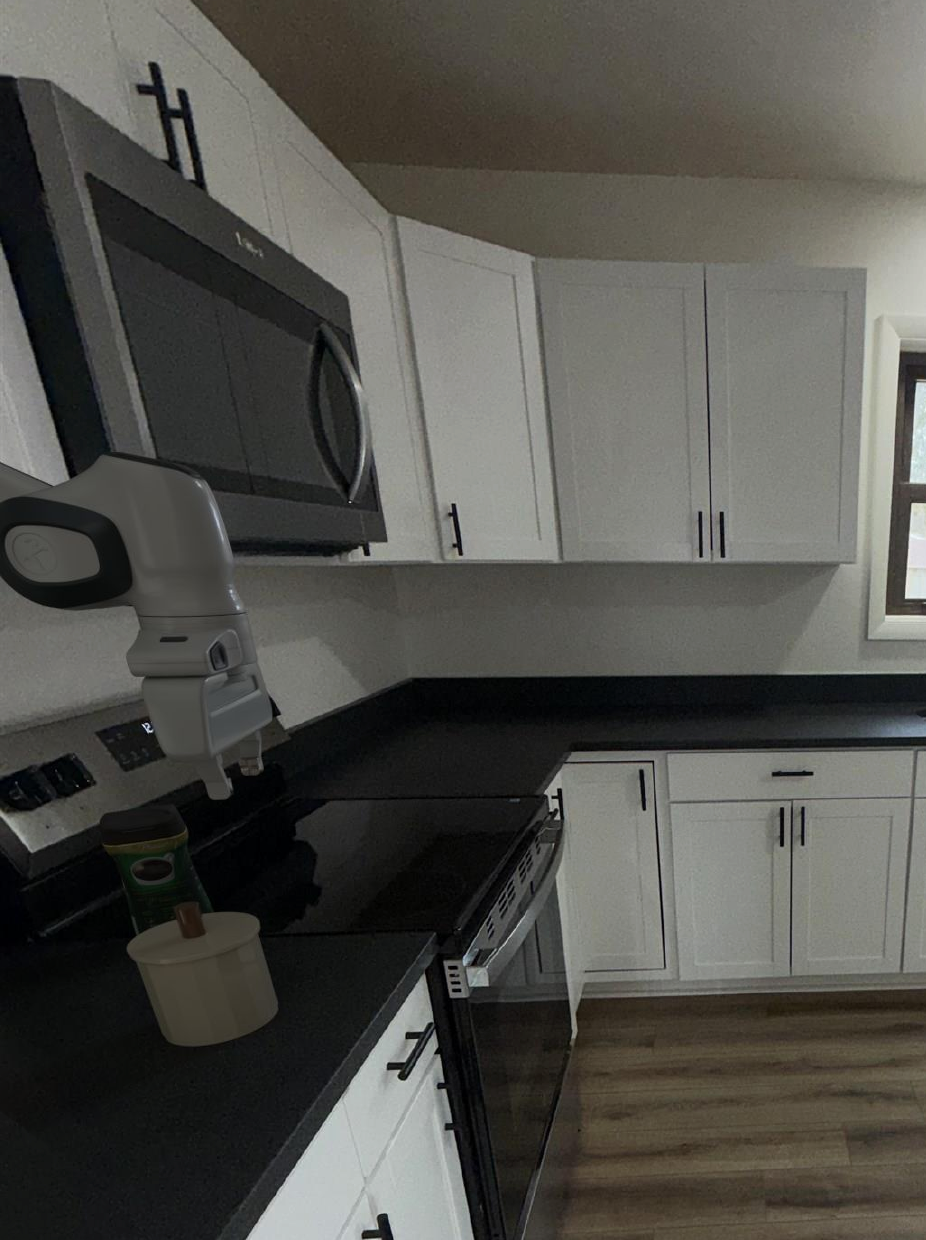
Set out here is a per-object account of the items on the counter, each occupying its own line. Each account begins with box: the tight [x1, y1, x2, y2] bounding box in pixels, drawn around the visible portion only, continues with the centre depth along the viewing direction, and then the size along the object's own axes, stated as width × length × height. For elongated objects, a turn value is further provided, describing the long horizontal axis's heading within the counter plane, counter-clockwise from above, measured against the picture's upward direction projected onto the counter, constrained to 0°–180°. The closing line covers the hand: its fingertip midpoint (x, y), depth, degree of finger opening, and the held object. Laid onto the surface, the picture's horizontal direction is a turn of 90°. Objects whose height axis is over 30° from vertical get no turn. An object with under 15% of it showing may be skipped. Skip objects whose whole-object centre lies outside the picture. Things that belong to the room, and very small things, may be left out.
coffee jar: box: [99, 803, 215, 936], centre depth 116 cm, size 10×8×19 cm
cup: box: [135, 933, 279, 1047], centre depth 96 cm, size 12×12×11 cm
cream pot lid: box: [126, 902, 261, 964], centre depth 93 cm, size 13×13×5 cm
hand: (238, 785), depth 86 cm, fingers open, 8 cm apart
